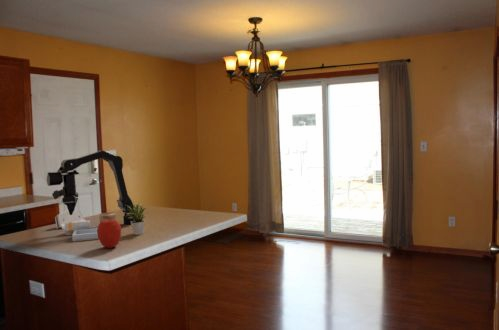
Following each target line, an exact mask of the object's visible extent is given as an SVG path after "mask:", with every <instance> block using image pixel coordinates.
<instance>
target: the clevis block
mask: <svg viewBox="0 0 499 330" xmlns="http://www.w3.org/2000/svg"><path fill="white" fill-rule="evenodd" d="M106 219H113V220H116V221H117V219H116V212H105V213H104V212H103V213H99V217H98V220H99V224H100V223H101V222H102V221H103V220H106ZM98 226H99V225H96V226H95V225H94V226H90V229H95V228H98ZM82 230H85V229H82ZM74 231H75V230H72V231H65V230H64V234H65V236H72V235H73V232H74Z"/></svg>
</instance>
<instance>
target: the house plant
mask: <svg viewBox="0 0 499 330" xmlns="http://www.w3.org/2000/svg"><path fill="white" fill-rule="evenodd" d="M126 206H127V205H126ZM133 206H134V208H133V210H134V212H135V213H134V212H133V210H132V209H131V208H130V207H129V206H128V207H129V208H130V209H131V211H132V212H133V213H132V212H131V211H130V209H129V211H130V212H131V213H126V214H128V215H129V214H133V216H134V215H135V216H134V217H135V218H134V217H133V216H132V215H129V216H130V217H131V216H132V217H131V218H132V219H134V221H131V224H130V225H131V230H132V234H133V235H134V236H135V235H137V236H139V235H143V234H144V233H145V224H146V220H145V219H144V218H145V216H144V215H145V213H144V212H145V210H146V209H147V206H145V207H143V206H142V204H141V203H140V202H136V203H135V204H133ZM127 210H128V208H127ZM143 213H144V214H143ZM148 213H149V212H146V214H148ZM128 215H127V216H128ZM130 217H128V218H130ZM131 218H130V219H131Z"/></svg>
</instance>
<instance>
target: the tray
mask: <svg viewBox="0 0 499 330" xmlns="http://www.w3.org/2000/svg"><path fill="white" fill-rule="evenodd" d="M97 229H98V228H95V229H85V230H75V231H74V232H73V235H71V236H72V242H81V241H89V240H90V241H91V240H99V238H98V234H97Z"/></svg>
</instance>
